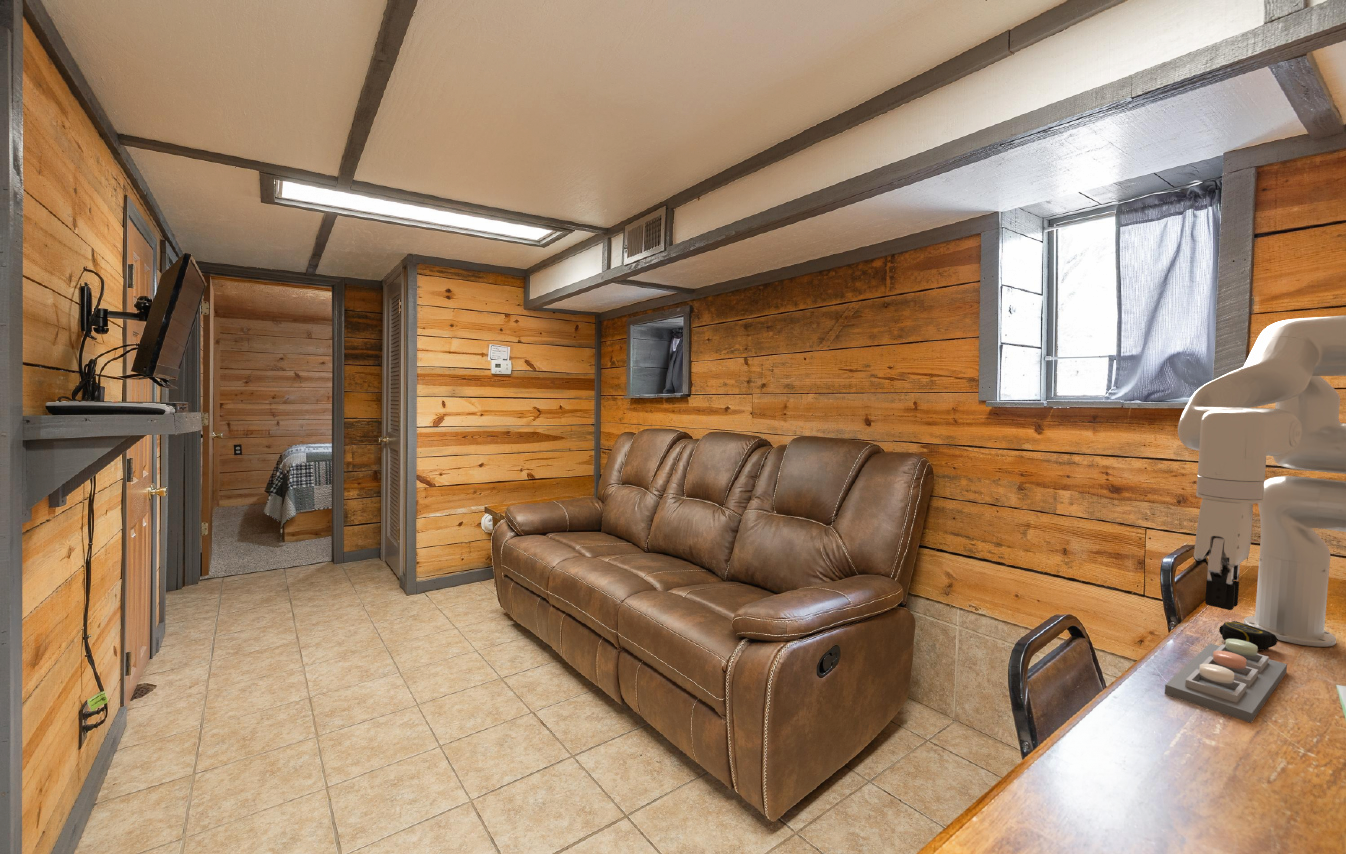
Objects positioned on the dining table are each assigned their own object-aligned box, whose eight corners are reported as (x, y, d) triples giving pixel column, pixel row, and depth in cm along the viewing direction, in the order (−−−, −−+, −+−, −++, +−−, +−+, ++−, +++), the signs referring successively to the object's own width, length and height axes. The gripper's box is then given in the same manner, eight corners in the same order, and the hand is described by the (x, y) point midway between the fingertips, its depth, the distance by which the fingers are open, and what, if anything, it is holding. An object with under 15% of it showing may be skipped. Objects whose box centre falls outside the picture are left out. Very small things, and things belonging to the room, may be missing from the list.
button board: (1209, 651, 108) (1210, 637, 108) (1286, 672, 100) (1287, 657, 100) (1164, 693, 93) (1165, 677, 93) (1251, 722, 85) (1252, 705, 85)
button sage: (1228, 643, 104) (1228, 636, 104) (1259, 651, 101) (1260, 644, 100) (1222, 649, 101) (1222, 642, 101) (1254, 657, 98) (1254, 650, 98)
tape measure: (1278, 651, 109) (1280, 632, 108) (1255, 656, 106) (1256, 636, 106) (1234, 636, 115) (1235, 618, 115) (1211, 640, 113) (1212, 622, 113)
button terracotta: (1216, 655, 99) (1216, 648, 99) (1248, 664, 96) (1249, 657, 96) (1209, 661, 97) (1210, 654, 97) (1242, 671, 94) (1243, 663, 94)
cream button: (1203, 668, 95) (1203, 661, 94) (1236, 678, 91) (1237, 670, 91) (1196, 675, 92) (1196, 668, 92) (1230, 685, 89) (1230, 678, 89)
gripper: (1210, 481, 97) (1203, 588, 99) (1182, 491, 88) (1174, 609, 89) (1274, 488, 91) (1265, 602, 92) (1251, 499, 82) (1241, 625, 83)
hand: (1221, 604), depth 91 cm, fingers closed
